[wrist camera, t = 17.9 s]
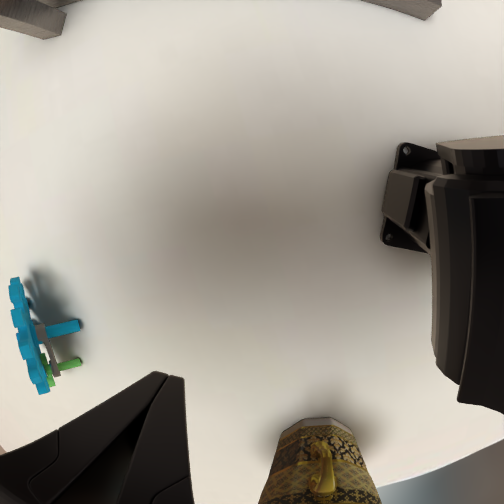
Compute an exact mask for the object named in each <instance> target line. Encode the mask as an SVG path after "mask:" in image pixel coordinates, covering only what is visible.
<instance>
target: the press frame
mask: <svg viewBox="0 0 504 504" xmlns="http://www.w3.org/2000/svg"><path fill="white" fill-rule="evenodd" d="M77 1H81V0H0V27H1V28H5V29H9V30H12V31H16V32H20V33H23V34H27V35H30V36H33V37H37V38H40V39H43V40H44V39H48V38H52V37H55V36H59V35H61V32H62V29H63V25H64V21H65V18H66V13H64V12H62V11H60V10H58V9H55V8H57V7H60V6H63V5H67V4H70V3H74V2H77ZM362 1H366V2H370V3H374V4H377V5H381V6H384V7H387V8H390V9H394V10H397V11H400V12H403V13H406V14H409V15H411V16H414V17H417V18H420V19H422V20H426V19H427V18H428V17H429V16H431V15H432V14H433V13H434V12H435V11H437V10H438V9H439V8H440V7H441V6H442V3H441V0H362Z"/></svg>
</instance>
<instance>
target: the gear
mask: <svg viewBox="0 0 504 504" xmlns="http://www.w3.org/2000/svg"><path fill="white" fill-rule="evenodd" d="M10 284H11V285H10V286H9V296H10V300H11V302H12V303H13V304H14V308H15V309H12V310H11V315H12V320H13V324H14V327H15V328H17V327H18V332H19V333H16V336H17V340H18V346H19V349H20V352H21V355H22V358H23V360H25V359H26V362H27V367H28V373H29V377H30V379H31V381H32V383H33V384H36V387H37V390H38V393H39V395H40V394H44V393H48V392H50V388H49V387H52V386H55V382H54V379H53V376H54V377H58V376H61V374H60V371H62V370H66V369H70V368H74V367H78V366H81V362H80V359H79V358H77V359H74V360H70V361H66V362H62V363H58V364H57V362H56V359H55V356H54V353H53V350H52V347H51V344H50V341H49V338H53V337H57V336H61V335H65V334H70V333H74V332H78V331H80V327H79V323H78V320H72V321H68V322H64V323H59V324H55V325H51V326H46V327H45V324H44V323H43V324H39V325H34V324H33V321H32V320H31V318H30V311H29V305H28V302H27V299H26V298H25V294H24V288H23V284H22V283H20V278H19V277H16V278H11V279H10ZM43 343H45V346H46V349H47V352H48V354H49V357H50V361H49V363H50V364H48V362H47V359H46V356H45V353H42V354H41V351H40V347H39V344H43ZM46 373H47V374H46ZM52 374H53V376H52ZM47 375H48V376H47Z"/></svg>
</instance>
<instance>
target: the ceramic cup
mask: <svg viewBox="0 0 504 504" xmlns="http://www.w3.org/2000/svg"><path fill="white" fill-rule="evenodd" d="M258 504H382V503H381V500H380V498H379V495H378V492H377V490H376V487H375V485H374V483H373V481H372V478H371V476H370V475H369V473H368V471H367V468H366V465H365V462H364V460H363V458H362V455H361V453H360V451H359V448H358V446H357V444H356V441H355V438H354V436H353V434H352V432H351V430H350V429H349V428H348V427H346V426H344V425H343V424H341V423H339V422H338V421H336V420H334V419H332V418H330V417H329V418H313V419H303V420H301V421H300V422H298V423H296V424H295V425H293V426H292V427H290V428H288V429H287V430H285V431H284V432H283V433H282V434H281V436H280V439H279V442H278V446H277V450H276V453H275V456H274V460H273V463H272V466H271V469H270V473H269V477H268V479H267V482H266V484H265V486H264V489H263V491H262V494H261V496H260V499H259V502H258Z"/></svg>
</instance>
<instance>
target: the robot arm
mask: <svg viewBox="0 0 504 504" xmlns="http://www.w3.org/2000/svg"><path fill="white" fill-rule="evenodd" d="M404 147H407V148H408V153H407V154H405V153H404V152H403V149H404ZM436 147H437V151H434V150H431V149H427V148H424V147H421V146H418V145H414V144H411V143H406V142H404V143H401V144H400V145H399V146H398V149H397V155H396V161H395V167H394V170H392V171H391V172H390V173H389V178H388V183H387V188H386V193H385V198H384V203H383V208H382V212H383V214H384V215H385V217H384V221H383V225H382V230H381V234H380V238H381V241H382V242H383V243H384V244H386V245H388V246H394V247H399V248H404V249H409V250H414V251H419V252H424V253H429V254H430V255H431V265H432V336H431V341H432V346H433V350H434V355H435V357H436V365H437V367H438V368H439V369H440V370H441V372H442V373H443V374H444V375H445V376H446V377H448V378H449V379H451V380H452V381H453V382H455V383H456V384H458V385H460V386H459V391H458V395H457V401H458V402H459V403H465V404H473V405H481V406H484V407H487V408H490V409H492V410H495V411H498V412H500V413H502V414H504V135H502V136H491V137H481V138H472V139H463V140H455V141H447V142H440V143H436ZM387 234H391V238H390V239H389V240H386V235H387ZM0 504H194V498H193V491H192V482H191V473H190V462H189V450H188V437H187V422H186V404H185V382H184V378H182V377H178V376H174V375H170V376H169V375H168V374H166V373H162V372H158V371H153V372H151V373H150V374H148V375H147V376H145V377H143V378H142V379H140V380H139V381H137V382H135V383H134V384H132V385H131V386H129V387H127V388H126V389H124V390H122V391H121V392H119V393H118V394H116V395H114V396H113V397H111V398H109V399H108V400H106V401H104V402H103V403H101V404H99V405H98V406H96V407H94V408H93V409H91V410H89V411H88V412H86V413H84V414H82V415H81V416H79V417H77V418H76V419H74V420H72V421H70V422H69V423H67V424H65V425H63V426H62V427H60V428H59V429H58V430H54V431H53V432H51V433H49V434H47V435H45V436H43V437H42V438H40V439H38V440H36V441H34V442H32V443H30V444H27V445H25V446H23V447H20V448H18V449H15V450H13V451H10V452H8V453H5V454H2V455H0Z"/></svg>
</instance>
